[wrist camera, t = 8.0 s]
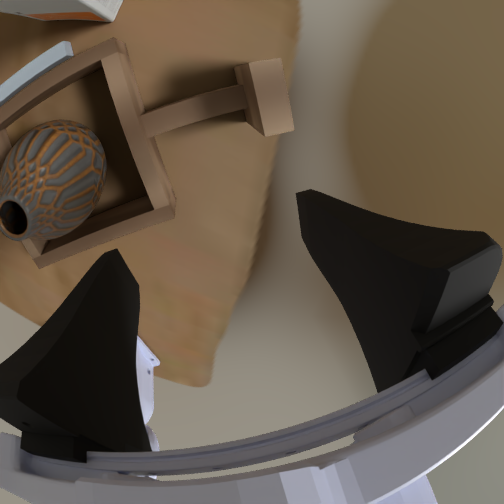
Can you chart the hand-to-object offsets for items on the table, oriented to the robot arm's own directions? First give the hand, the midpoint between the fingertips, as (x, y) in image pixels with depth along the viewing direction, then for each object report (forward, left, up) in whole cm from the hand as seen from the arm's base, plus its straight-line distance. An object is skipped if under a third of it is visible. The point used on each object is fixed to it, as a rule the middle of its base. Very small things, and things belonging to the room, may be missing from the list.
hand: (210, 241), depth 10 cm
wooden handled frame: (+4, +4, -10) cm, 12 cm away
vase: (+4, +9, -10) cm, 14 cm away
